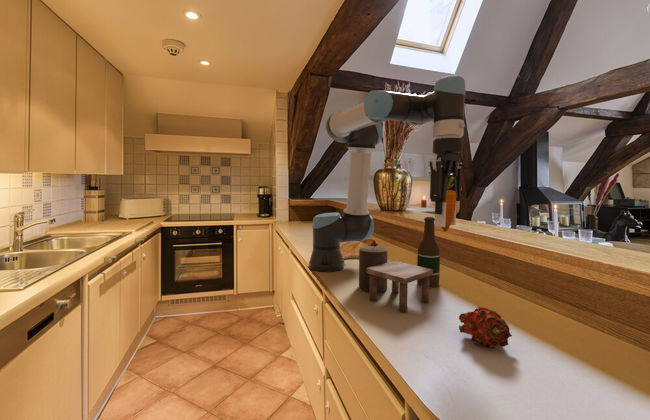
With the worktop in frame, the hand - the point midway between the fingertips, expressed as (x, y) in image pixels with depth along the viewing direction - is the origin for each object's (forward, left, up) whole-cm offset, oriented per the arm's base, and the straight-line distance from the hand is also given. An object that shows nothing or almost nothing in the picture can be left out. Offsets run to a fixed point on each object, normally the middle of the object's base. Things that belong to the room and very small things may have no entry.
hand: (445, 225), depth 82 cm
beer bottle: (-16, +18, -25) cm, 34 cm away
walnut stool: (-13, -3, -24) cm, 28 cm away
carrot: (0, 0, -2) cm, 2 cm away
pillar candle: (-26, 0, -25) cm, 36 cm away
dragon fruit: (+14, -9, -25) cm, 30 cm away
